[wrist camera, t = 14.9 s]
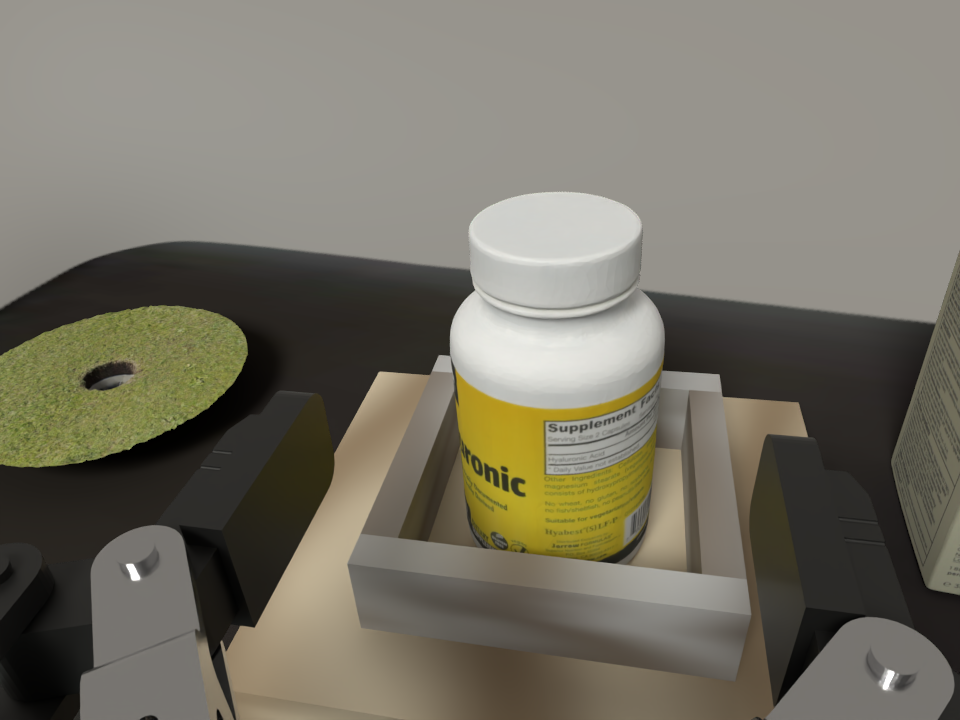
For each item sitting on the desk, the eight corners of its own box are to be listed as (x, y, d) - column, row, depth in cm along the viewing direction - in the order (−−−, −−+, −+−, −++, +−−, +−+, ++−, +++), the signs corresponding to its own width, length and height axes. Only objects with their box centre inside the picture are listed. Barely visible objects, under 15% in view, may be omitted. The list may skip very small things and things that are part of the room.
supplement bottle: (447, 486, 24) (416, 199, 18) (600, 448, 25) (613, 167, 19) (498, 620, 19) (476, 294, 14) (681, 566, 20) (727, 246, 15)
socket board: (790, 434, 27) (812, 344, 25) (889, 837, 16) (944, 737, 14) (383, 401, 30) (371, 318, 28) (221, 720, 19) (180, 622, 17)
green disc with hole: (207, 502, 26) (192, 460, 25) (-99, 507, 26) (-126, 466, 25) (285, 336, 35) (277, 300, 34) (58, 342, 36) (43, 307, 35)
